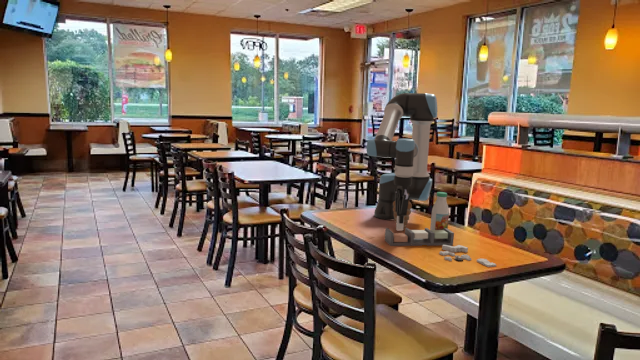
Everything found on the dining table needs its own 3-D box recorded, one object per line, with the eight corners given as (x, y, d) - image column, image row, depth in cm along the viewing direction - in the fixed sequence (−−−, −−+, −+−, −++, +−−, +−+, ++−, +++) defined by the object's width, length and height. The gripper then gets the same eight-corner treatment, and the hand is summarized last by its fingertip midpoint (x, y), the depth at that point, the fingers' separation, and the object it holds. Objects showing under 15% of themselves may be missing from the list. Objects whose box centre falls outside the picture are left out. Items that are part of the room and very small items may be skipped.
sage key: (429, 235, 205) (430, 229, 205) (442, 235, 206) (443, 229, 206) (434, 238, 200) (434, 233, 200) (447, 238, 201) (448, 233, 201)
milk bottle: (427, 235, 214) (431, 192, 211) (432, 232, 221) (435, 190, 217) (444, 238, 210) (448, 195, 207) (448, 234, 217) (452, 192, 214)
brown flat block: (390, 238, 202) (390, 233, 202) (403, 238, 203) (403, 233, 203) (393, 241, 198) (394, 236, 197) (407, 241, 198) (407, 236, 198)
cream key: (410, 235, 204) (410, 230, 203) (423, 235, 205) (423, 230, 204) (414, 238, 199) (414, 233, 198) (427, 238, 200) (428, 233, 199)
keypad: (384, 240, 204) (385, 228, 203) (445, 239, 208) (446, 227, 207) (390, 245, 196) (391, 233, 195) (453, 245, 200) (454, 232, 200)
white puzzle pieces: (451, 271, 169) (451, 265, 169) (417, 251, 191) (417, 246, 191) (496, 267, 176) (497, 261, 176) (458, 248, 198) (459, 243, 198)
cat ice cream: (390, 230, 220) (392, 193, 217) (393, 226, 227) (395, 190, 224) (409, 233, 217) (411, 195, 214) (411, 229, 224) (414, 192, 221)
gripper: (390, 173, 202) (386, 225, 206) (399, 178, 189) (396, 234, 193) (406, 173, 203) (403, 225, 207) (417, 178, 190) (413, 234, 194)
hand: (399, 229), depth 200 cm, fingers closed
